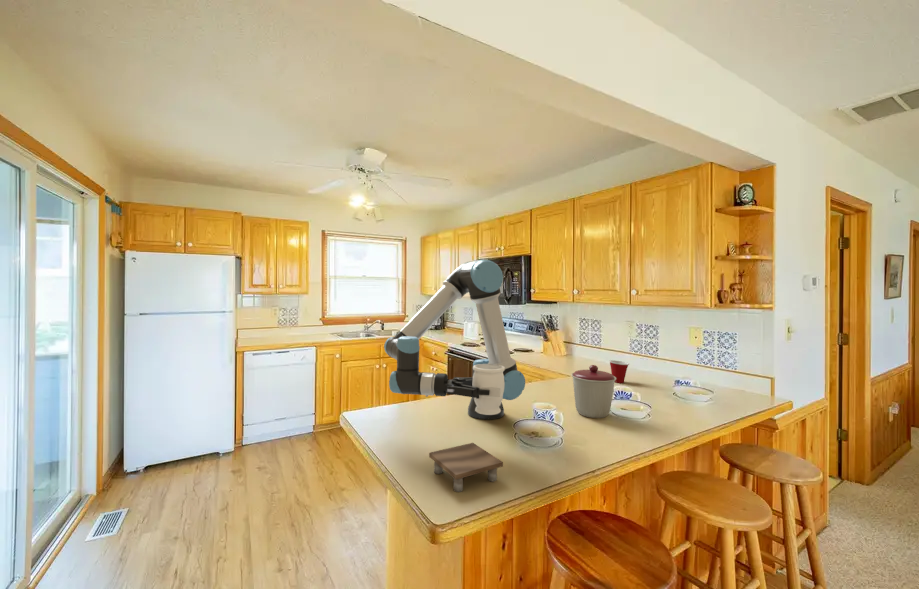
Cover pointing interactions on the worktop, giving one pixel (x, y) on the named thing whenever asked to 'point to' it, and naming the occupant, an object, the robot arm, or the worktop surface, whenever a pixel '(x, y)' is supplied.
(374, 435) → the worktop surface
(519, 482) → the worktop surface
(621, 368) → the plastic cup
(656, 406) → the worktop surface
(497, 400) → the jar
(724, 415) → the worktop surface
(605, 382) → the canister
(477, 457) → the wooden trivet stand
